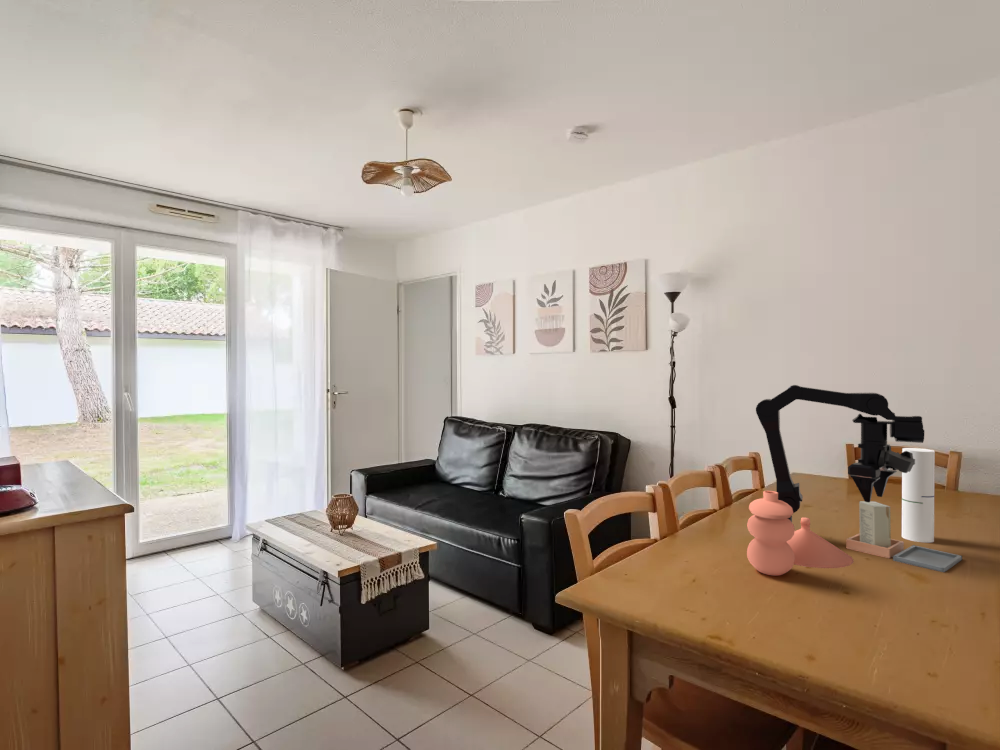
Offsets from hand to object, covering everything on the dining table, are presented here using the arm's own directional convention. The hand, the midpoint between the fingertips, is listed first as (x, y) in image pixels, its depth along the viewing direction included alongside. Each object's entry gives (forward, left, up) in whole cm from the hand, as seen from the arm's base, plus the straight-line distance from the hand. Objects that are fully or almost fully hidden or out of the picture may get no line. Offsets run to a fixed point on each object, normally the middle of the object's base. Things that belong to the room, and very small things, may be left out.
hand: (873, 499), depth 141 cm
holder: (-1, -1, -13) cm, 13 cm away
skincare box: (-1, -1, -13) cm, 13 cm away
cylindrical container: (+19, -4, -13) cm, 24 cm away
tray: (0, -12, -13) cm, 18 cm away
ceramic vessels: (-25, +9, -13) cm, 30 cm away
